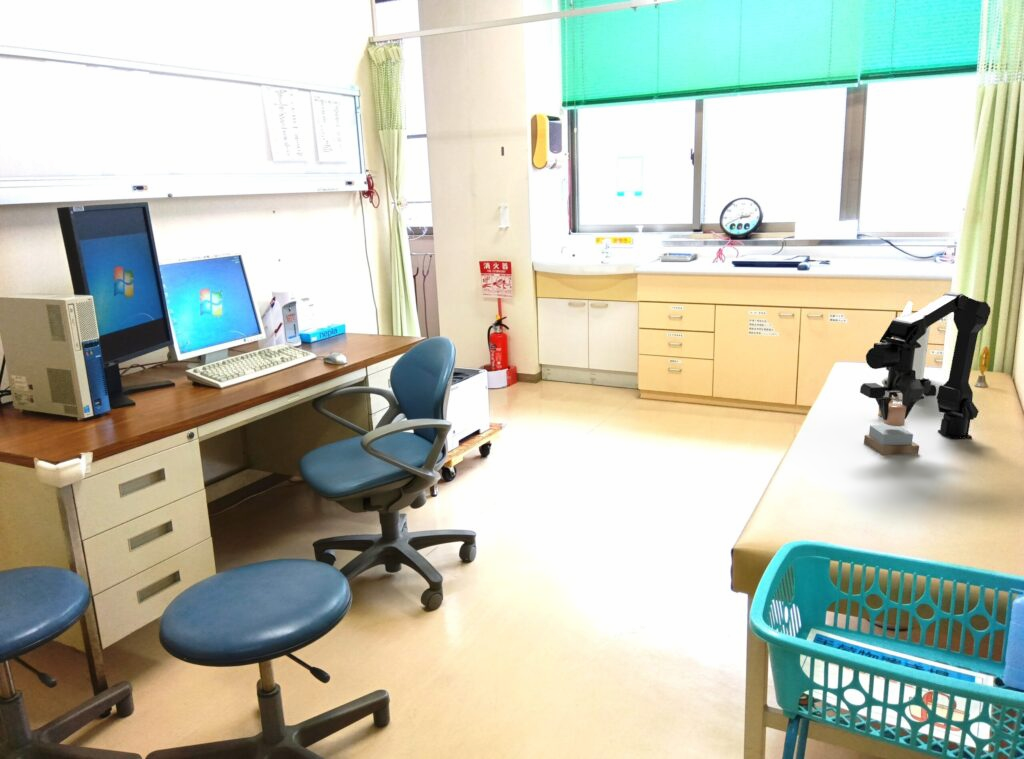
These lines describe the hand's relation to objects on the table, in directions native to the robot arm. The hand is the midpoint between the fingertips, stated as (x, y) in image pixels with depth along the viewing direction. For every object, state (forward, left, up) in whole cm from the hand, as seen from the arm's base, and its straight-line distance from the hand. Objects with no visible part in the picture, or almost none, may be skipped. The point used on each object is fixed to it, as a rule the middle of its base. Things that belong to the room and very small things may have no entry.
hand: (894, 419), depth 209 cm
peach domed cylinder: (0, 0, -1) cm, 1 cm away
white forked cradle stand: (-40, -57, -9) cm, 70 cm away
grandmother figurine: (-14, -28, -9) cm, 32 cm away
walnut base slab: (0, 0, -9) cm, 9 cm away
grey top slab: (0, 0, -6) cm, 6 cm away
